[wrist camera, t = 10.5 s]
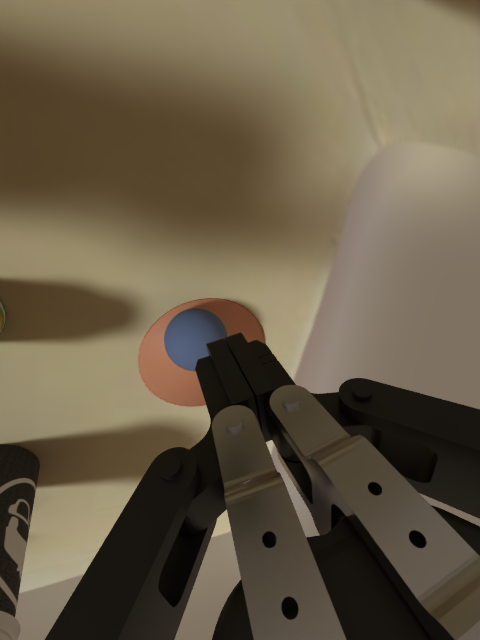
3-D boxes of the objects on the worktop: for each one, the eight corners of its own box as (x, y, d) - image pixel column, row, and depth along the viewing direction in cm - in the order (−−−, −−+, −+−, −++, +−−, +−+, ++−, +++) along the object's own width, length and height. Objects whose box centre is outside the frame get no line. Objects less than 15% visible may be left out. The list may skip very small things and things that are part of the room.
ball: (157, 318, 22) (161, 308, 28) (168, 386, 23) (169, 364, 29) (228, 308, 23) (219, 301, 29) (236, 374, 24) (225, 355, 30)
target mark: (161, 420, 33) (161, 422, 32) (117, 323, 26) (117, 324, 26) (269, 381, 35) (270, 382, 35) (255, 282, 28) (255, 282, 28)
